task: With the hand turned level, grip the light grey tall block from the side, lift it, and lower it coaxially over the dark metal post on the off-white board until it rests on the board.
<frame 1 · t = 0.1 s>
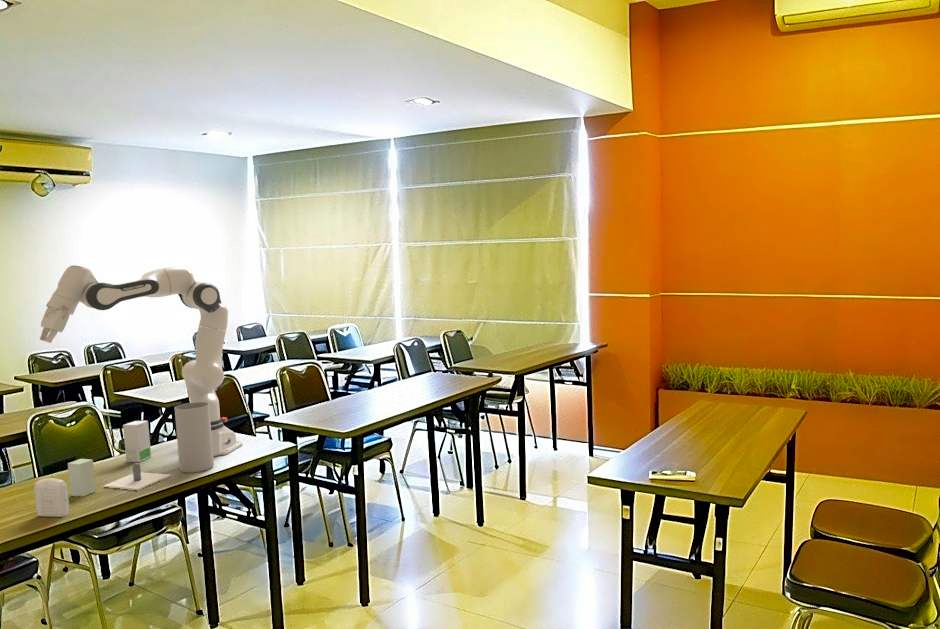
hand: (44, 341, 263), 54 cm above the table, tool tilted 30°, fingers open, 8 cm apart
cylinder vase: (197, 469, 284), on the table
photo printer: (53, 515, 239), on the table
skincare box: (138, 460, 300), on the table
light grey tall block: (83, 493, 259), on the table
dock: (137, 482, 270), on the table
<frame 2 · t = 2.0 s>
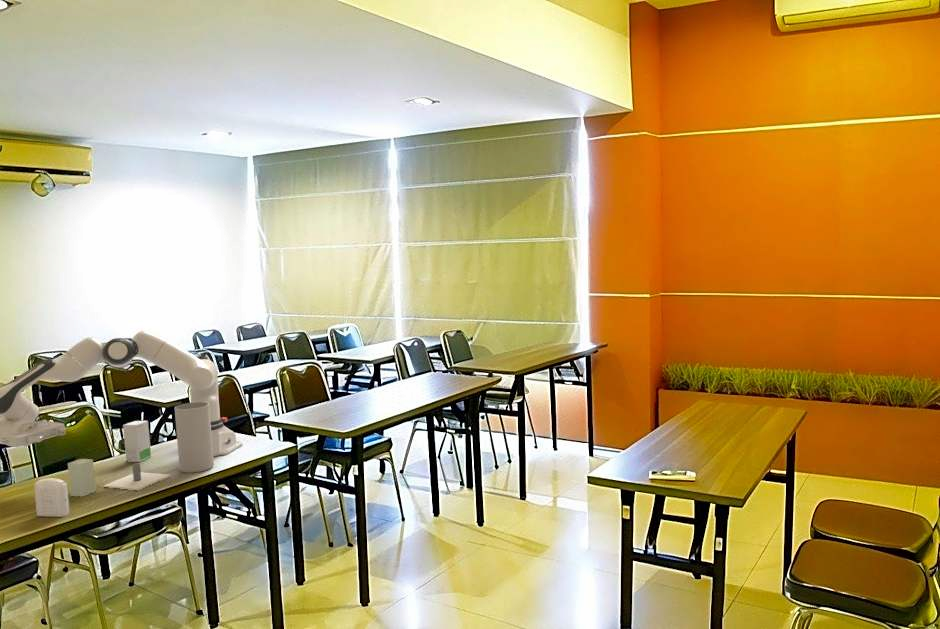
hand: (52, 436, 261), 20 cm above the table, tool horizontal, fingers open, 8 cm apart
nothing on the table moved.
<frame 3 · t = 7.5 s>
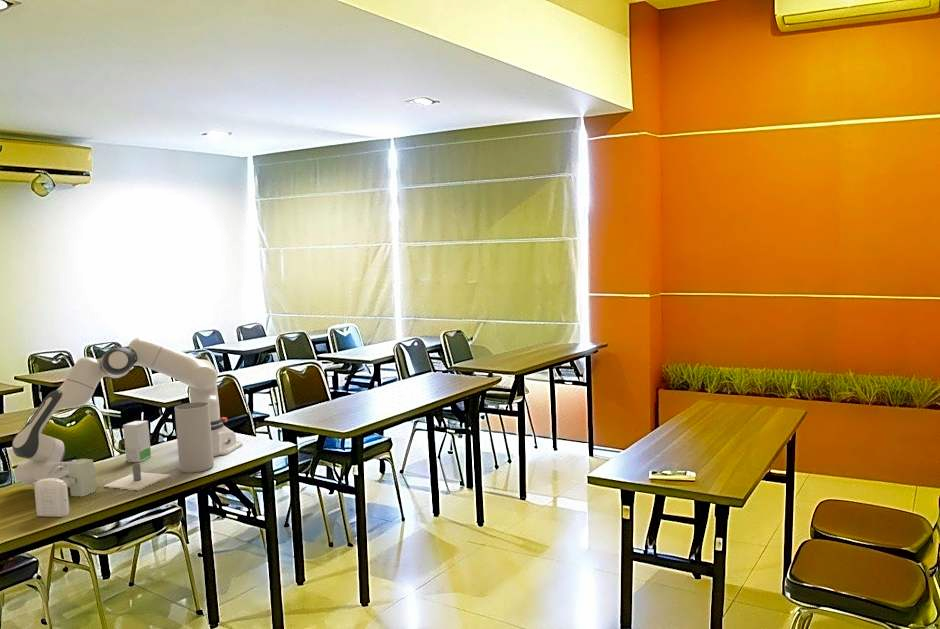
hand: (83, 477, 258), 6 cm above the table, tool horizontal, fingers closed on light grey tall block, 6 cm apart
light grey tall block: (83, 493, 259), on the table, touching gripper
everything else where it was.
when the fingers open (8 cm above the table, at t = 16.3 s): light grey tall block drops 1 cm, resting on dock.
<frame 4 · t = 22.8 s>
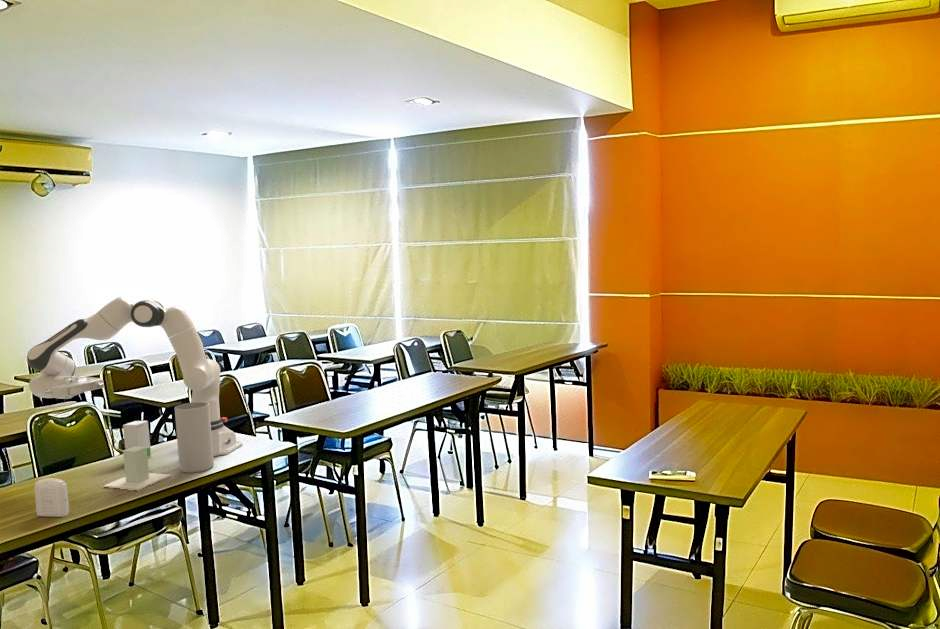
hand: (92, 388, 278), 34 cm above the table, tool horizontal, fingers open, 8 cm apart
light grey tall block: (137, 479, 270), point 1 cm above the table, touching dock
everything else where it was.
at the end: light grey tall block 0.1 cm off-centre on the dock, point 0.8 cm above the dock's base; light grey tall block tilted 0°; the gripper is holding nothing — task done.
